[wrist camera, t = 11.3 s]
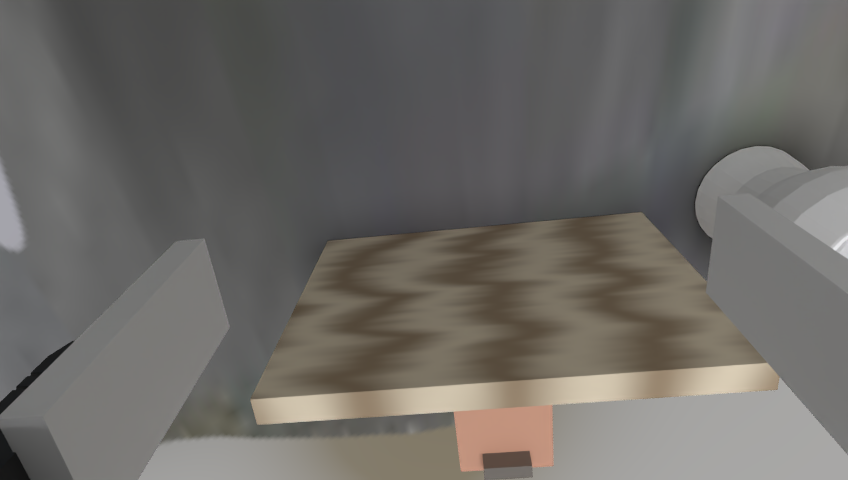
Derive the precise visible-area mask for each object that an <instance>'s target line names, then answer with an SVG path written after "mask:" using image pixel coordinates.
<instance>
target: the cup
mask: <svg viewBox="0 0 848 480" xmlns="http://www.w3.org/2000/svg"><path fill="white" fill-rule="evenodd" d="M748 193H750V194H751V195H753V196H754V197H756V198H757V199H759V200H760V201H762V202H763V203H765V204H766V205H768V206H769V207H771V208H772V209H774V210H775V211H777V212H778V213H780V214H781V215H783V216H784V217H786V218H787V219H789V220H790V221H792V222H793V223H795V224H796V225H798V226H799V227H801V228H802V229H804V230H805V231H807V232H808V233H810V234H811V235H813V236H814V237H816V238H817V239H819V240H820V241H822V242H823V243H825V244H826V245H828V246H829V247H831V248H832V249H834V250H835V251H837V252H838V253H840V254H841V255H843V256H844V257H846V258H847V259H848V166H829V167H824V168H820V169H815V170H809V169H808V168H806V167H805V166H804V165H803V164H802V163H800V162H799V161H797V160H796V159H795V158H793V157H792V156H790V155H789V154H787V153H786V152H784V151H783V150H780V149H777V148H773V147H770V146H754V147H749V148H744V149H740V150H738V151H736V152H734V153H732V154H730V155H727V156H726V157H725V158H723V159H722V160H721V161H719V162H718V163H717V164H715V165H714V166H713V167H712V169H711V170H710V171H709V172H708V173H707V174H706V176H705V177H704V179H703V181H702V183H701V185H700V187H699V189H698V192H697V196H696V201H695V210H696V217H697V220H698V222H699V225H700V227H701V228H702V229H703V230H704V232H705V233H706V234H707V235H708V236H709V237H711V238H712V239H713V231H714V224H715V216H716V208H717V200H718V196H724V195H736V194H748Z"/></svg>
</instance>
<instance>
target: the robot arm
mask: <svg viewBox="0 0 848 480" xmlns="http://www.w3.org/2000/svg"><path fill="white" fill-rule="evenodd" d="M706 293H707V294H708V295H709V297H710V298H711V299H712V300H713V301H714V302H715V303H716V305H717V306H718V307H719V308H720V309H721V310H722V311H723V313H724V314H725V315H726V316H727V317H728V318H729V319H730V321H731V322H732V323H733V324H734V325H735V326H736V327H737V329H738V330H739V331H740V332H741V333H742V334H743V335H744V337H745V338H746V339H747V340H748V341H749V342H750V343H751V345H752V346H753V347H754V348H755V349H756V350H757V351H758V353H759V354H760V355H761V356H762V357H763V358H764V359H765V361H766V362H767V363H768V364H769V365H770V366H771V367H772V369H773V370H774V371H775V372H776V373H777V374H778V375H779V377H780V378H781V379H782V380H783V381H784V382H785V383H786V385H787V386H788V387H789V388H790V389H791V390H792V392H794V394H795V395H796V396H797V397H798V398H799V399H800V401H801V402H802V403H803V404H804V405H805V406H806V408H807V409H808V410H809V411H810V412H811V413H812V414H813V416H815V418H816V419H817V420H818V421H819V422H820V423H821V425H822V426H823V427H824V428H825V429H826V430H827V431H828V433H829V434H830V435H831V436H832V437H833V438H834V439H835V441H836V442H837V443H838V444H839V445H840V446H841V448H842V449H843V450H844V451H845V452H846V453H847V454H848V259H847V258H846V257H844V256H843V255H841V254H840V253H838V252H837V251H835V250H834V249H832V248H831V247H829V246H828V245H826V244H825V243H823V242H822V241H820V240H819V239H817V238H816V237H814V236H813V235H811V234H810V233H808V232H807V231H805V230H804V229H802V228H801V227H799V226H798V225H796V224H795V223H793V222H792V221H790V220H789V219H787V218H786V217H784V216H783V215H781V214H780V213H778V212H777V211H775V210H774V209H772V208H771V207H769V206H768V205H766V204H765V203H763V202H762V201H760V200H759V199H757V198H756V197H754V196H753V195H751V194H750V193H748V194H736V195H724V196H718V200H717V208H716V216H715V224H714V231H713V239H712V247H711V255H710V263H709V271H708V279H707V287H706ZM229 328H230V326H229V323H228V319H227V316H226V312H225V309H224V305H223V302H222V298H221V295H220V291H219V288H218V284H217V281H216V277H215V274H214V270H213V267H212V263H211V260H210V256H209V253H208V249H207V246H206V242H205V239H194V240H182V241H176V242H175V243H174V244H173V245H172V246H171V247H170V248H169V249H168V250H167V251H166V252H165V253H164V254H162V255H161V256H160V257H159V258H158V259H157V260H156V261H155V262H154V263H153V264H152V265H151V266H150V267H149V268H148V269H147V270H146V271H145V272H144V273H143V274H142V275H141V276H140V277H139V278H138V279H137V280H136V281H135V282H134V283H133V284H132V285H131V286H130V287H129V288H128V289H127V290H126V291H125V292H124V293H123V294H122V295H121V296H120V297H119V298H118V299H117V300H116V301H115V302H114V303H113V304H112V305H111V306H110V307H109V308H108V309H107V310H106V311H105V312H104V313H103V314H102V315H101V316H100V317H99V318H98V319H97V320H96V321H95V322H94V323H93V324H92V325H91V326H90V327H89V328H87V329H86V330H85V331H84V332H83V333H82V334H81V335H80V336H79V337H78V338H77V339H76V340H75V341H72V342H70V343H69V344H67V345H65V346H64V347H62V348H61V349H59V350H57V351H56V352H54V353H53V354H51V355H49V356H48V357H47V358H46V359H45V360H44V361H43V362H42V363H41V364H40V365H39V366H38V367H36V368H35V369H34V370H33V371H32V372H31V376H27V377H26V378H25V379H24V380H23V381H22V382H21V383H20V384H19V385H18V386H17V387H16V388H17V389H16V390H12V391H11V392H10V393H9V394H8V395H7V396H6V397H5V398H4V399H3V400H2V401H1V402H0V480H138V479H139V477H140V475H141V473H142V472H143V470H144V469H145V467H146V465H147V464H148V462H149V460H150V459H151V457H152V455H153V454H154V452H155V450H156V449H157V447H158V445H159V444H160V442H161V440H162V439H163V437H164V435H165V434H166V432H167V430H168V429H169V427H170V425H171V424H172V422H173V421H174V419H175V417H176V416H177V414H178V412H179V411H180V409H181V407H182V406H183V404H184V402H185V401H186V399H187V397H188V396H189V394H190V392H191V391H192V389H193V387H194V386H195V384H196V382H197V381H198V379H199V377H200V376H201V374H202V372H203V371H204V369H205V367H206V366H207V364H208V362H209V361H210V359H211V357H212V356H213V354H214V352H215V351H216V349H217V348H218V346H219V344H220V343H221V341H222V339H223V338H224V336H225V334H226V333H227V331H228V329H229Z"/></svg>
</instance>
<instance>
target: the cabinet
mask: <svg viewBox="0 0 848 480" xmlns="http://www.w3.org/2000/svg"><path fill="white" fill-rule="evenodd" d="M454 417H455V425H456V434H457V442H458V450H459V458H460V467H461V472H463V471H480V470H484V478H485V480H495V479H512V478H529V477H533V476H532V467H546V466H553V416H552V405H544V406H529V407H514V408H499V409H484V410H469V411H454Z"/></svg>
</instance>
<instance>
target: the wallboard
mask: <svg viewBox="0 0 848 480" xmlns="http://www.w3.org/2000/svg"><path fill="white" fill-rule="evenodd" d="M706 287H707V281H706V280H705V279H704V278H703V277H702V276H701V275H700V274H699V273H698V272H697V271H696V270H695V269H694V268H693V267H692V265H691V264H690V263H689V262H688V261H687V260H686V259H685V258H684V257H683V256H682V255H681V254H680V253H679V252H678V250H677V249H676V248H675V247H674V246H673V245H672V244H671V243H670V242H669V241H668V240H667V239H666V238H665V237H664V236H663V234H662V233H661V232H660V231H659V230H658V229H657V228H656V227H655V226H654V225H653V224H652V223H651V222H650V221H649V220H648V218H647V217H646V216H645V215H644V214H643V213H642V212H637V213H626V214H615V215H604V216H593V217H583V218H572V219H561V220H550V221H539V222H528V223H517V224H506V225H495V226H484V227H473V228H462V229H451V230H440V231H430V232H419V233H408V234H397V235H386V236H375V237H364V238H353V239H342V240H331V241H327V243H326V246H325V248H324V250H323V252H322V254H321V256H320V258H319V260H318V262H317V264H316V266H315V268H314V270H313V272H312V274H311V276H310V278H309V280H308V282H307V284H306V286H305V288H304V291H303V293H302V295H301V297H300V299H299V301H298V303H297V305H296V307H295V309H294V311H293V313H292V315H291V317H290V319H289V321H288V323H287V325H286V327H285V329H284V331H283V334H282V336H281V338H280V340H279V342H278V344H277V346H276V348H275V350H274V352H273V354H272V356H271V358H270V360H269V362H268V364H267V366H266V368H265V370H264V372H263V374H262V376H261V379H260V381H259V383H258V385H257V387H256V389H255V391H254V393H253V395H252V397H251V399H250V400H251V404H252V407H253V411H254V414H255V418H256V421H257V425H261V424H276V423H291V422H305V421H320V420H335V419H350V418H365V417H380V416H395V415H410V414H425V413H440V412H454V411H469V410H484V409H499V408H514V407H529V406H544V405H559V404H573V403H588V402H602V401H618V400H632V399H648V398H663V397H678V396H693V395H707V394H721V393H722V394H723V393H738V392H751V391H767V390H777V389H778V383H779V375H778V374H777V373H776V372H775V371H774V370H773V369H772V367H771V366H770V365H769V364H768V363H767V362H766V361H765V359H764V358H763V357H762V356H761V355H760V354H759V353H758V351H757V350H756V349H755V348H754V347H753V346H752V345H751V343H750V342H749V341H748V340H747V339H746V338H745V337H744V335H743V334H742V333H741V332H740V331H739V330H738V329H737V327H736V326H735V325H734V324H733V323H732V322H731V321H730V319H729V318H728V317H727V316H726V315H725V314H724V313H723V311H722V310H721V309H720V308H719V307H718V306H717V305H716V303H715V302H714V301H713V300H712V299H711V298H710V297H709V295H708V294H707V293H706Z"/></svg>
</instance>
